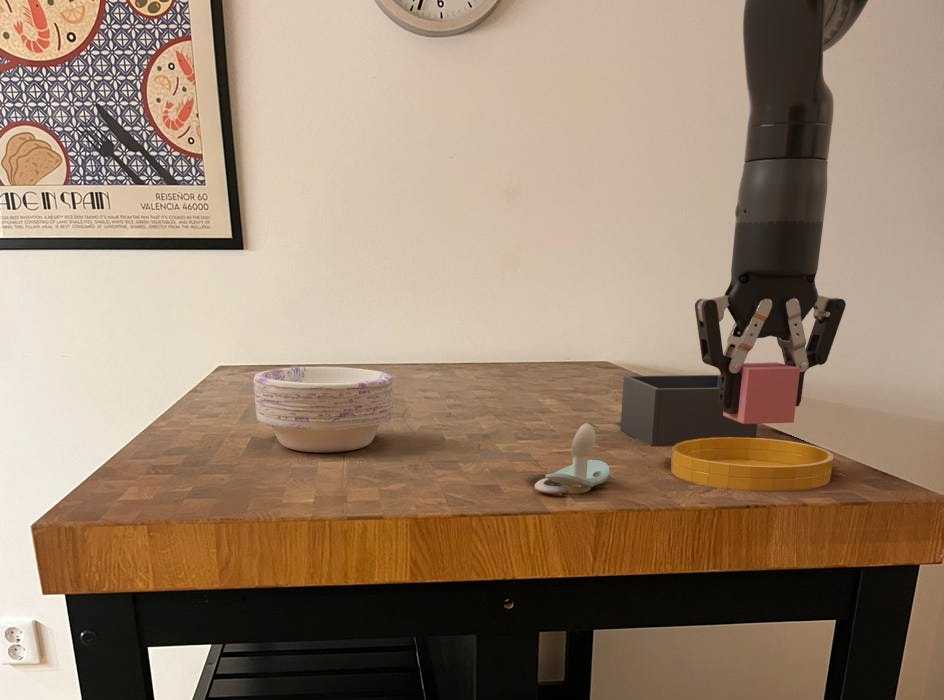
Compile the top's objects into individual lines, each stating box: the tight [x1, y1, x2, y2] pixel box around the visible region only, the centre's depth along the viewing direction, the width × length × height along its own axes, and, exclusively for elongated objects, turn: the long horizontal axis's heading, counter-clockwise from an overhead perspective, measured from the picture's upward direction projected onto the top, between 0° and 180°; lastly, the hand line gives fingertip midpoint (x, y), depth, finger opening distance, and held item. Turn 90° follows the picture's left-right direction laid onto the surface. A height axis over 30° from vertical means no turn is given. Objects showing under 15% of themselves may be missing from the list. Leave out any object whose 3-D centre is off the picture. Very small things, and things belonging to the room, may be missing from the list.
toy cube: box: [723, 362, 800, 425], centre depth 91 cm, size 5×5×5 cm
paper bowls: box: [252, 366, 394, 454], centre depth 107 cm, size 15×15×8 cm
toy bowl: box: [670, 437, 835, 492], centre depth 94 cm, size 15×15×2 cm
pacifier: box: [534, 422, 611, 495], centre depth 87 cm, size 7×6×6 cm
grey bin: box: [620, 374, 758, 448], centre depth 112 cm, size 12×12×6 cm
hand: (758, 411), depth 92 cm, fingers closed on toy cube, 5 cm apart
